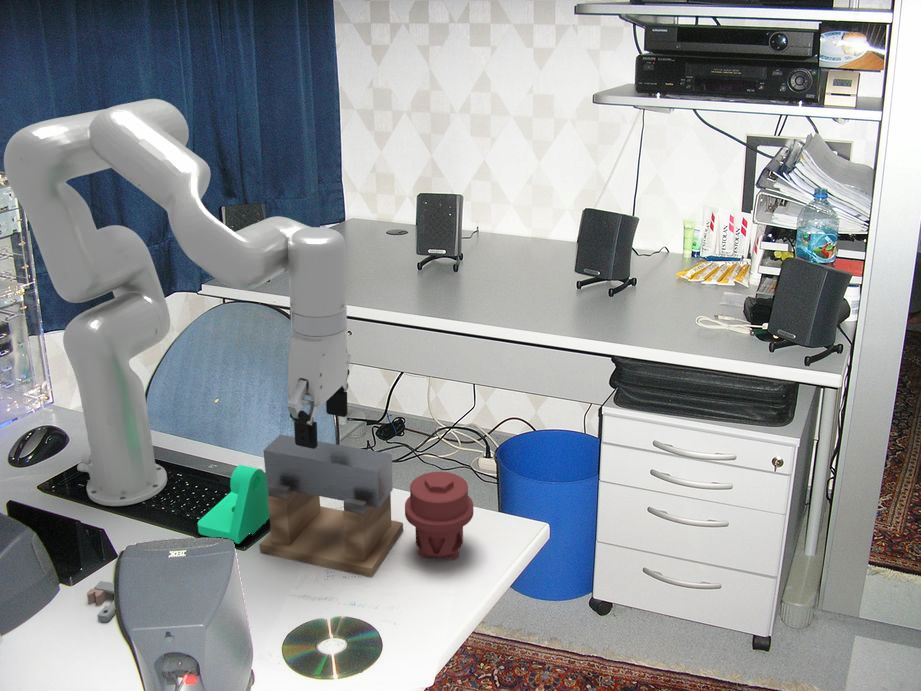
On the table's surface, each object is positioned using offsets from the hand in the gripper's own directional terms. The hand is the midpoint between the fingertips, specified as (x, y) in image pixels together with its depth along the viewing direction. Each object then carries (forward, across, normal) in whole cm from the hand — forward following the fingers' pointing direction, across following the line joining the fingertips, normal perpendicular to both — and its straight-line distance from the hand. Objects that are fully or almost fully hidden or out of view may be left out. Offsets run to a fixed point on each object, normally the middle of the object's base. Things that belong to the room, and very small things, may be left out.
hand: (322, 429), depth 130 cm
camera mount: (+20, 0, -15) cm, 25 cm away
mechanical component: (+19, -3, +17) cm, 26 cm away
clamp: (+20, +21, -17) cm, 34 cm away
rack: (+19, 0, +1) cm, 19 cm away
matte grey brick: (+10, 0, +1) cm, 10 cm away
